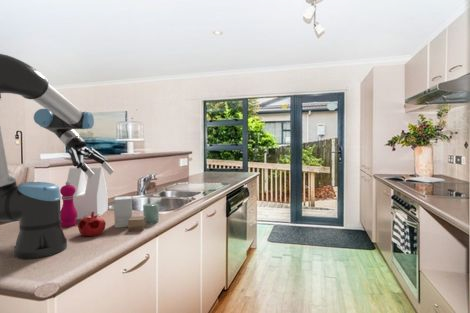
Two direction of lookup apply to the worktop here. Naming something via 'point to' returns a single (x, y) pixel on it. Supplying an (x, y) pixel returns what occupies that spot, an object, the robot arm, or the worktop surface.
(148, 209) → the green rounded block
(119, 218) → the supplement box
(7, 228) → the worktop surface
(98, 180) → the milk carton
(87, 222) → the pomegranate
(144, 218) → the walnut block
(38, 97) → the robot arm
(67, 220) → the pepper mill
